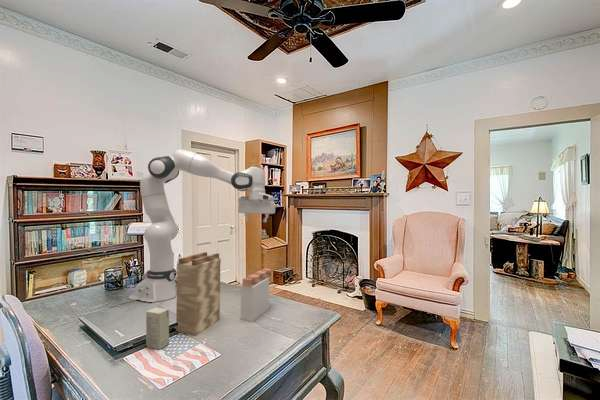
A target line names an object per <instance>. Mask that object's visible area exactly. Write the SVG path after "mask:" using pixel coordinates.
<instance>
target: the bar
mask: <svg viewBox="0 0 600 400" xmlns="http://www.w3.org/2000/svg"><path fill="white" fill-rule="evenodd" d="M271 276H272V269H271V268H262V269H260V270H258V271H256V272H254V273H252V274H250V275H248V276H246V277H244V278H242V285H243V286H246V287H252V286H254V285H256V284H257V283H259V282H261V281H263V280H264V279H266V278H270V277H271Z"/></svg>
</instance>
